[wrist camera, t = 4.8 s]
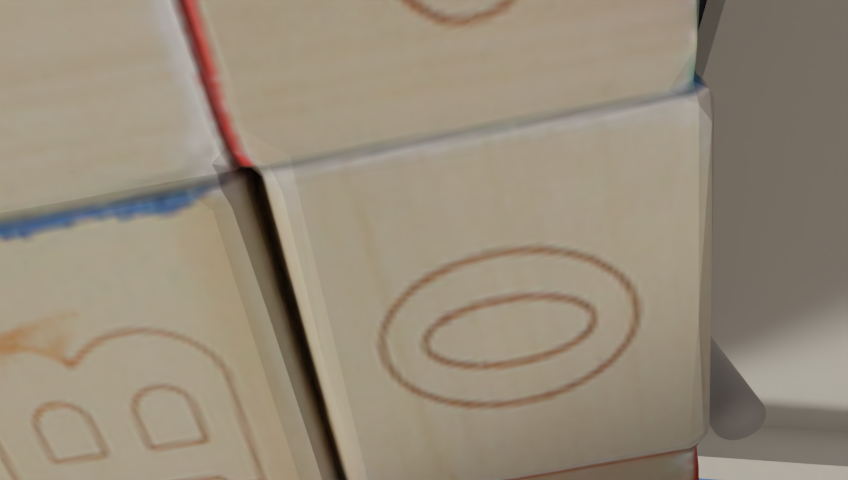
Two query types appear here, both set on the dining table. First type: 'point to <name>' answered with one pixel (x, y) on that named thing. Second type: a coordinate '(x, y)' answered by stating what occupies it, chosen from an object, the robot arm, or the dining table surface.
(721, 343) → the rack with pegs
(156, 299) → the stack of blocks
